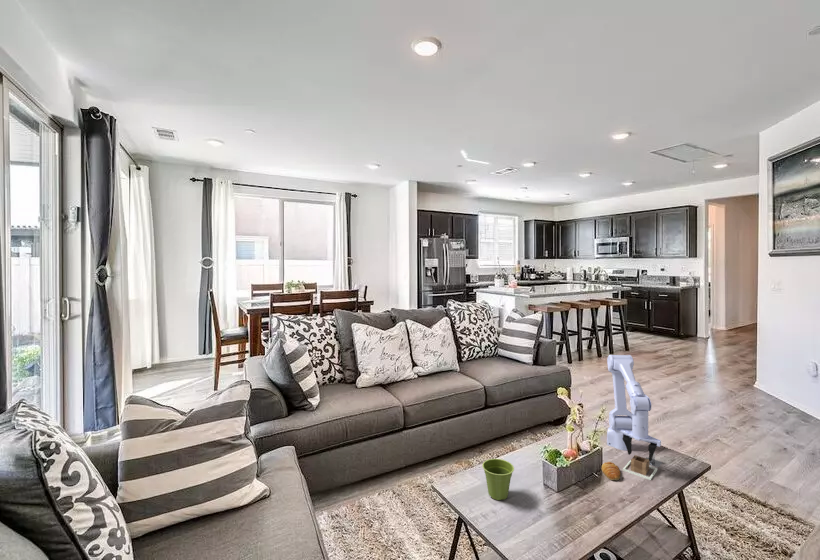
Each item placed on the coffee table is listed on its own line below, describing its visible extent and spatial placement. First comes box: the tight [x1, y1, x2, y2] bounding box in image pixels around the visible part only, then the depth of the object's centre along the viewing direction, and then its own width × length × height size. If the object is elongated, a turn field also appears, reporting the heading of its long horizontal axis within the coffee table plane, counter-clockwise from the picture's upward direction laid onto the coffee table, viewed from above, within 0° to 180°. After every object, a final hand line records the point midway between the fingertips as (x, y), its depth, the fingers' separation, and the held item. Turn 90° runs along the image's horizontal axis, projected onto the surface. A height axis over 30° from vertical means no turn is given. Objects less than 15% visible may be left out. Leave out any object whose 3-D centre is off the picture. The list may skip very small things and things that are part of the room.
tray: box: [622, 459, 658, 481], centre depth 159 cm, size 10×10×2 cm
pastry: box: [601, 461, 621, 481], centre depth 157 cm, size 9×7×4 cm
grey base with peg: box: [645, 452, 663, 468], centre depth 164 cm, size 6×6×5 cm
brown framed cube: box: [630, 454, 650, 476], centre depth 159 cm, size 5×5×5 cm
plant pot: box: [481, 458, 515, 501], centre depth 146 cm, size 12×12×11 cm
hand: (640, 457), depth 158 cm, fingers open, 7 cm apart
